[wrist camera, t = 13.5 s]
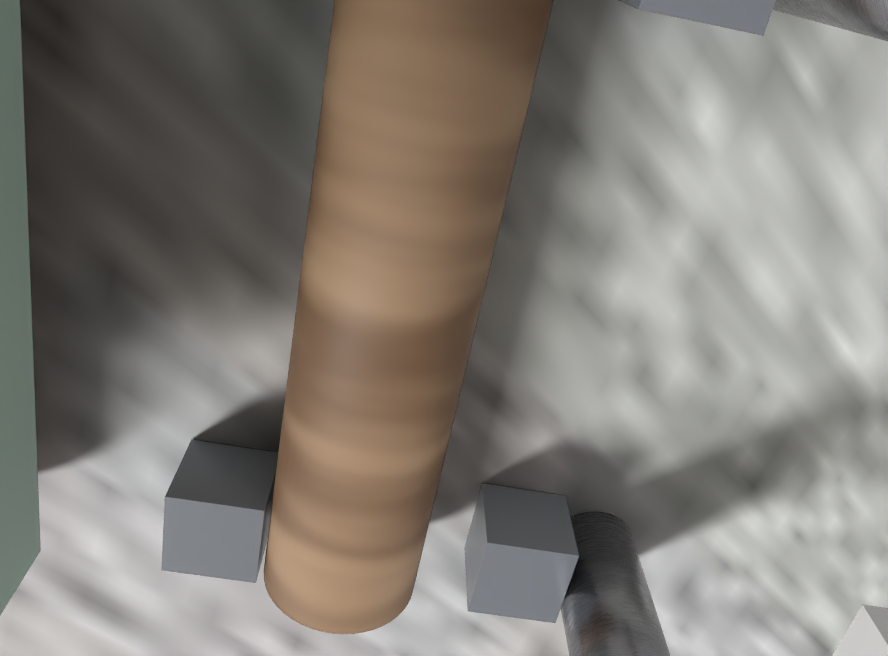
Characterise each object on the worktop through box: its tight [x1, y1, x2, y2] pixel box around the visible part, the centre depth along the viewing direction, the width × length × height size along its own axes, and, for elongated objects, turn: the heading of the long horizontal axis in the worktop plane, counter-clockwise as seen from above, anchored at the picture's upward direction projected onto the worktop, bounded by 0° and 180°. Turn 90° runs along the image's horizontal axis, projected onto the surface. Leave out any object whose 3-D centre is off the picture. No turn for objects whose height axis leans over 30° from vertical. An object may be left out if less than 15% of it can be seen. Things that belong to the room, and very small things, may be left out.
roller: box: [264, 0, 553, 634], centre depth 22 cm, size 22×5×5 cm, turn 169°
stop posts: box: [561, 0, 888, 656], centre depth 21 cm, size 23×3×8 cm, turn 169°
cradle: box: [162, 0, 776, 623], centre depth 23 cm, size 22×13×3 cm, turn 169°
